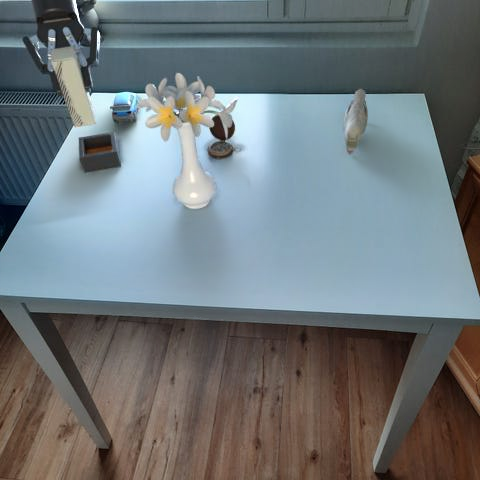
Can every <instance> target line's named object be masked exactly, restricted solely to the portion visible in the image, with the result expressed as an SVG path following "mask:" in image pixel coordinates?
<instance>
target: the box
mask: <svg viewBox="0 0 480 480" xmlns="http://www.w3.org/2000/svg"><path fill="white" fill-rule="evenodd" d="M51 63H52V65H53V68H54V71H55V74H56V76H57V79H58V82H59V85H60V88H61V91H62V94H63V96H62V97H63V99H64V103H65V104H66V107H67V110H68V113H69V116H70V119H71V121H72V122H71V123H72V124H73V127H74V128H81V127H87V126H93V125H96V124H97V119H96V110H95V107H94V105H93V102H92V97H91V95H90V92H88V93H87V92H86V90H85V87H84V82H83V78H82V73H81V69H80V68H81V64H80V62H79V60H78V57H77V54H76V50H75V46H74V47H71V46H70V47H64V48H57V49H53V50H51Z"/></svg>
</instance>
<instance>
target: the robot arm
mask: <svg viewBox="0 0 480 480" xmlns="http://www.w3.org/2000/svg"><path fill="white" fill-rule="evenodd" d="M76 2H77V1H76V0H31V5H32V9H33V14H34V18H35V21H36V31H35V32H36V33H35V34H34V35H32V36H30V37H28V36H23V37H22V43H23V44H24V46H25V48H26V50H27V51H28V54H29V55H30V57H31V59H32V61H33V62H34V64H35V66H36V68H37V69H38V70H39V71H40V73H41V74H42V75H48V76H49V79H50V82H51V87H52V90H53V91H54V93H55V94H56V95H58V96H59V97H60V98H61V97H64V96H63V94H62V91H61V88H60V85H59V82H58V79H57V76H56V74H55V71H54V68H53V65H52V63H51V50H53V49H57V48H64V47H70V46H71V47H74V46H75V50H76V54H77V57H78V60H79V62H80V65H81V68H80V69H81V73H82V78H83V82H84V87H85V90H86V92H87V93H88V92H89V93H92V91H91V89H93V88H94V83H93V78H92V74H91V69H93V68H94V67H95V68H96V67H98V66H99V62H100V45H101V35H100V32H99V29H98V27H96V26H92V27H91V28H88V27H84V25H83V24H82V23H81V20H80V17H79V11H78V8H77V3H76ZM85 36H86V38H87V41H88V42H89V57H88V58H87V57H85V56H84V53H83V52H82V50H81V45H82V43H83V41H84V39H85ZM40 43H41V44H42V45H43V46H44V47H45V48H46V49H47V64H46V63H44V62H43V60H42V58H41V56H40V54H39V52H38V51H39V50H40Z"/></svg>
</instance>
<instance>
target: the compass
mask: <svg viewBox="0 0 480 480" xmlns="http://www.w3.org/2000/svg"><path fill="white" fill-rule="evenodd" d="M211 119H212V120H213V122H214V126H213V127H211V128H210V127H208V129H209V132H210V134H211V135H212V137H213V138H215V139H216V140H219V141H214V142H213V143H211V144H209V146H208V147H207V148H206V150H207V154H208V156H209V157H211V158H212V159H216V160H224V159H227V158H229V157H230V156H232V155H233V153H236V152H237V153H240V152H241V151H242V148H241V147H234V146H233V144H232V143H230V142H227V141H229V140H230V139H231V138H233V136H234V135H235V132H236V124H235V120H233V119H232V126H231V127H229V128H228V137H227V140H226V135H225V131H224V127H223V124H222V121H221V118H220V116H219V115H217V114H214V115H213V116H212V117H211ZM237 149H239V150H238V151H237Z"/></svg>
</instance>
